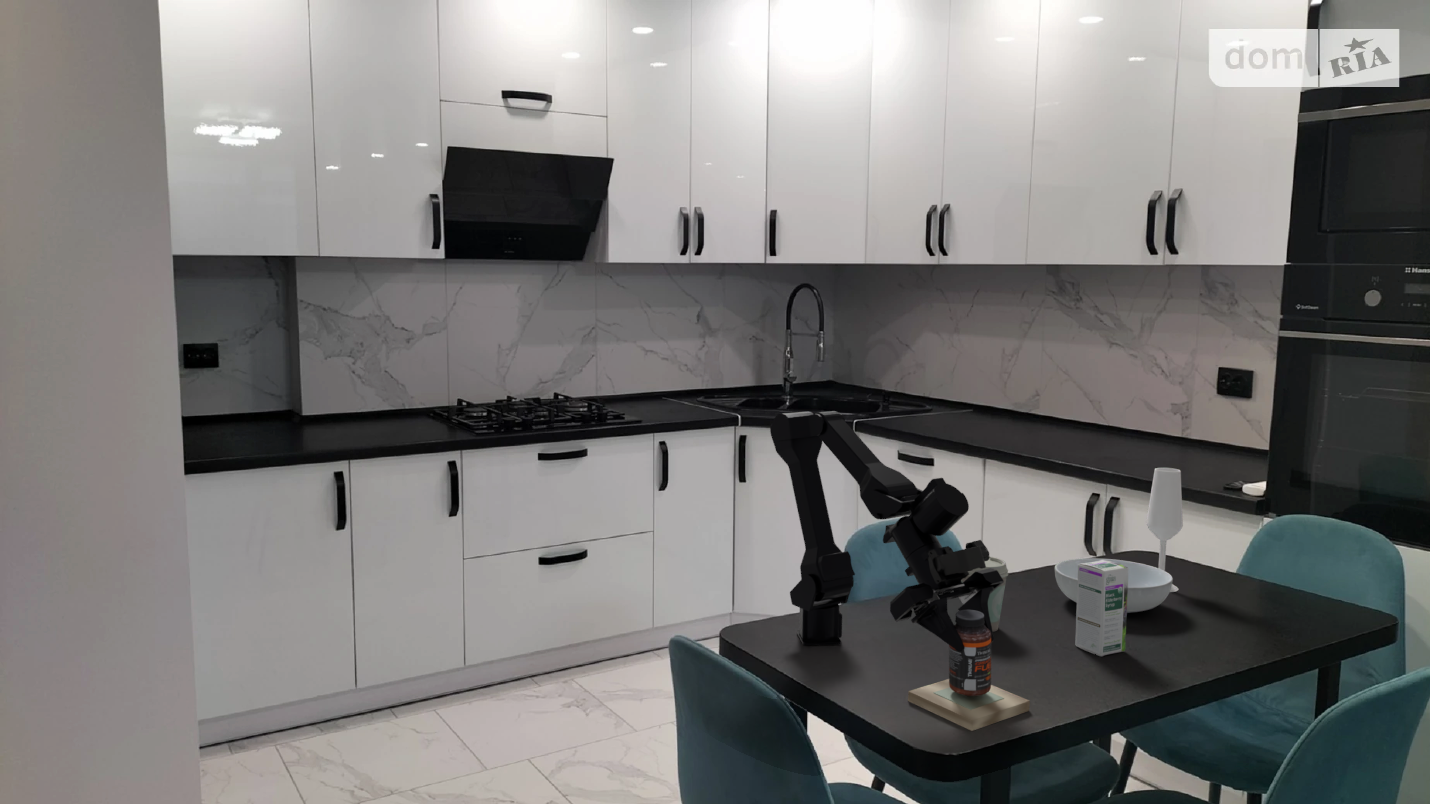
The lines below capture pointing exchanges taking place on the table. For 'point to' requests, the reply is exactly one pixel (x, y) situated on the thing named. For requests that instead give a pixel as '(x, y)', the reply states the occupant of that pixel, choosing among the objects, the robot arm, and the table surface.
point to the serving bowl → (1143, 582)
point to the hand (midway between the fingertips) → (976, 646)
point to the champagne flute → (1165, 509)
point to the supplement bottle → (971, 655)
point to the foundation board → (968, 704)
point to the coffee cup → (998, 593)
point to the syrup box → (1101, 607)
